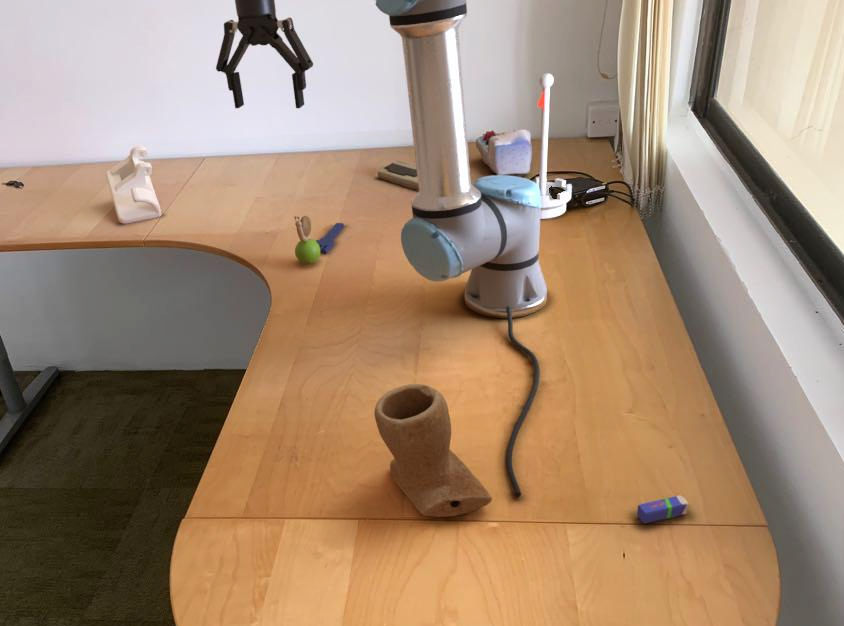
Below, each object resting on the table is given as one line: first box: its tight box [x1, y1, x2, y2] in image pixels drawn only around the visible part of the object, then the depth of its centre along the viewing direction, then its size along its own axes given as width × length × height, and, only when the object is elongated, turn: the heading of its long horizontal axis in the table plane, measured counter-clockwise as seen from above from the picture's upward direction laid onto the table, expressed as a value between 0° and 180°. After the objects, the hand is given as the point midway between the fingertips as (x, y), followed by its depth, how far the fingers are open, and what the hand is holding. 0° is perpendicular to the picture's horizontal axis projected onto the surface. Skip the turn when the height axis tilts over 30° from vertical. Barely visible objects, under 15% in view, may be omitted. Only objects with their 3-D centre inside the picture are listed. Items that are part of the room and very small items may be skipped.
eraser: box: [637, 494, 690, 525], centre depth 107 cm, size 2×6×2 cm, turn 103°
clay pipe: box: [373, 383, 493, 518], centre depth 111 cm, size 15×12×15 cm
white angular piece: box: [105, 145, 163, 225], centre depth 215 cm, size 20×11×13 cm, turn 19°
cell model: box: [475, 129, 533, 176], centre depth 216 cm, size 13×11×20 cm
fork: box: [315, 222, 345, 255], centre depth 190 cm, size 15×4×1 cm, turn 161°
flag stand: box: [534, 72, 573, 220], centre depth 185 cm, size 13×13×30 cm
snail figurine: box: [293, 215, 321, 265], centre depth 177 cm, size 5×6×12 cm
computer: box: [377, 160, 419, 191], centre depth 216 cm, size 16×8×3 cm, turn 40°
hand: (269, 106), depth 172 cm, fingers open, 13 cm apart
